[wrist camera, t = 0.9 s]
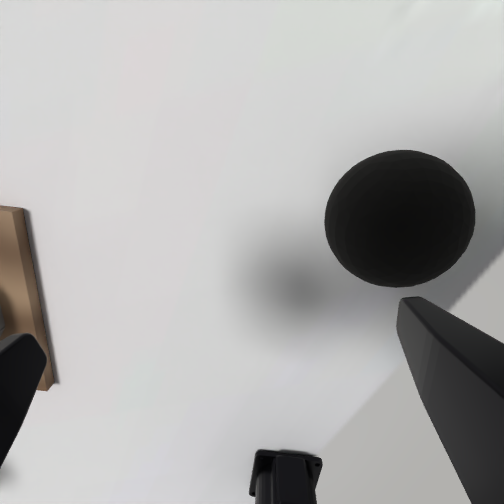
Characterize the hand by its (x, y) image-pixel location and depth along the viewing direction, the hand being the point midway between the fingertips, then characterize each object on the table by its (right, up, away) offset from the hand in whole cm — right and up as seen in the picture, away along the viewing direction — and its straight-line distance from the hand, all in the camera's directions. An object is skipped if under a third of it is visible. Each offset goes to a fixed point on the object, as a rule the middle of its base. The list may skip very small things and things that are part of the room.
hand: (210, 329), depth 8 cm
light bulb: (+7, +6, +13) cm, 16 cm away
